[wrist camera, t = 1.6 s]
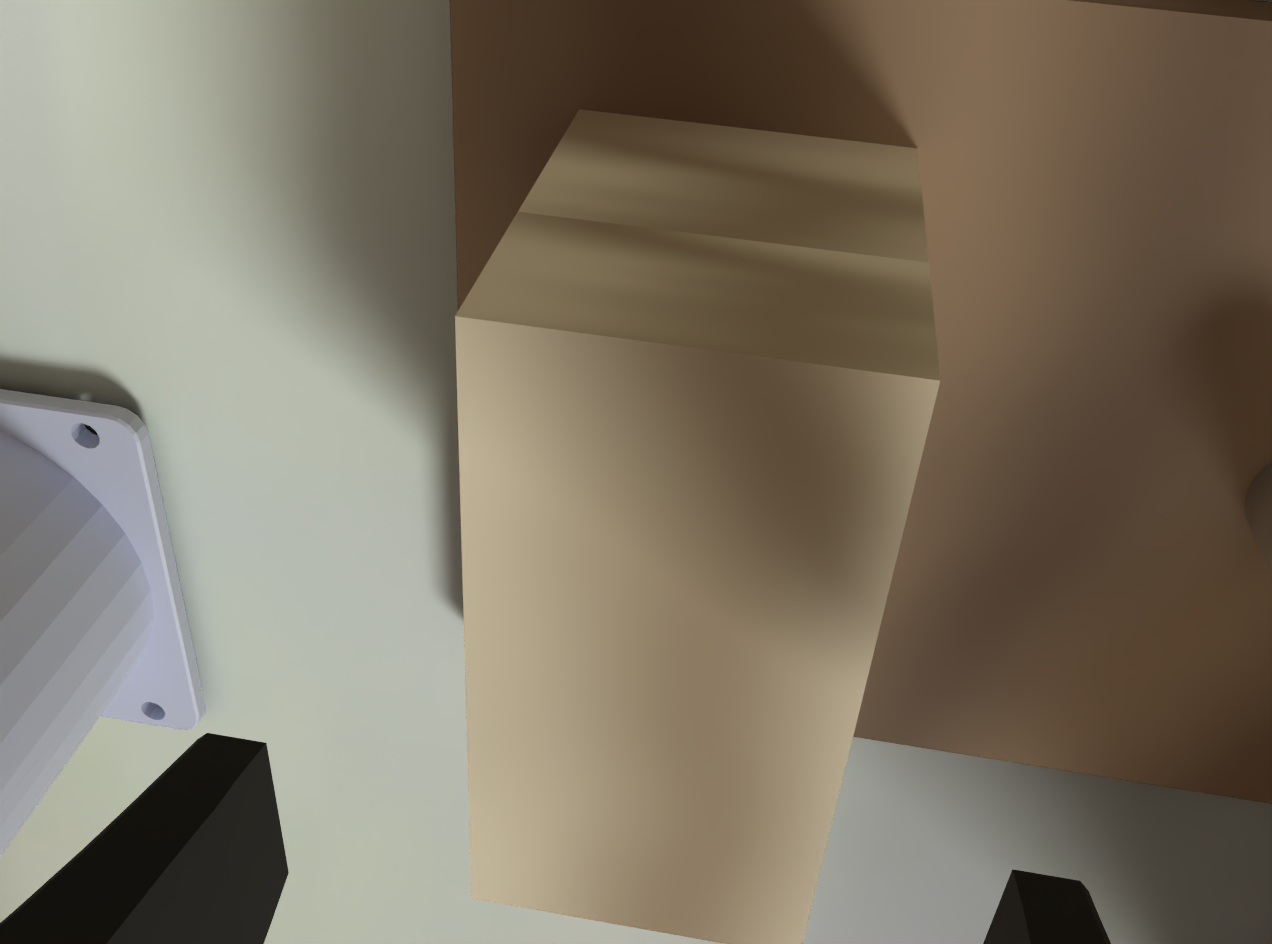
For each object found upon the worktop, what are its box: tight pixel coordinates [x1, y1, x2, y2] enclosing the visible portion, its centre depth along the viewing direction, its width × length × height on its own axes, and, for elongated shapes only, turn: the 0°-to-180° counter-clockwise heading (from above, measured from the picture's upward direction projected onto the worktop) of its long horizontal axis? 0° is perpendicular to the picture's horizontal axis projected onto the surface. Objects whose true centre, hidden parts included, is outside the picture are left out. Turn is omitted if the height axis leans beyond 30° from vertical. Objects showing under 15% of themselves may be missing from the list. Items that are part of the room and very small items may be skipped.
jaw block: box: [455, 109, 940, 944], centre depth 16 cm, size 4×9×6 cm, turn 177°
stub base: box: [450, 0, 1272, 804], centre depth 17 cm, size 18×13×4 cm
